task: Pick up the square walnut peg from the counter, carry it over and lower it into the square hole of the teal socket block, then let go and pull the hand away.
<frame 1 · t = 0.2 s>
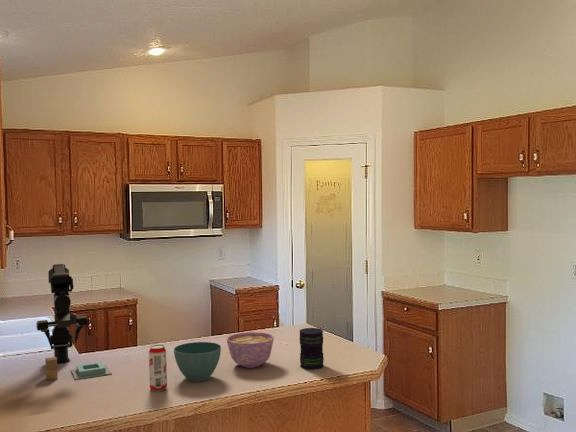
hand: (63, 344, 229), 14 cm above the table, tool pointing down, fingers open, 9 cm apart
storage jar: (311, 366, 239), on the table
walnut peg: (51, 378, 230), on the table
bowl of food: (250, 365, 243), on the table
teal bowl: (198, 378, 226), on the table
socket block: (91, 372, 237), on the table
beer can: (158, 389, 214), on the table
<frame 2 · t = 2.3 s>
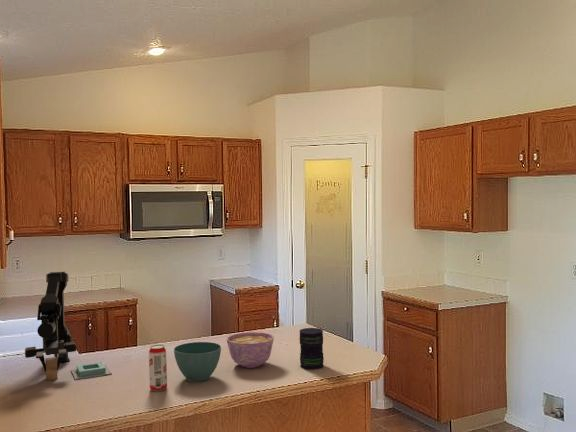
hand: (51, 371, 230), 3 cm above the table, tool pointing down, fingers closed on walnut peg, 4 cm apart
walnut peg: (51, 378, 230), on the table, touching gripper
everything else where it was.
when the fingers open (4 cm above the table, at t = 7.4 s): walnut peg stays where it is, resting on socket block.
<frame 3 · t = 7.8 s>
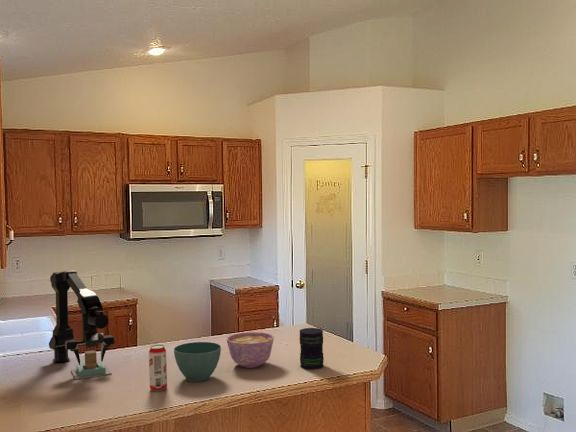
hand: (90, 363, 237), 4 cm above the table, tool pointing down, fingers open, 8 cm apart
walnut peg: (91, 371, 237), resting on socket block
everything else where it was.
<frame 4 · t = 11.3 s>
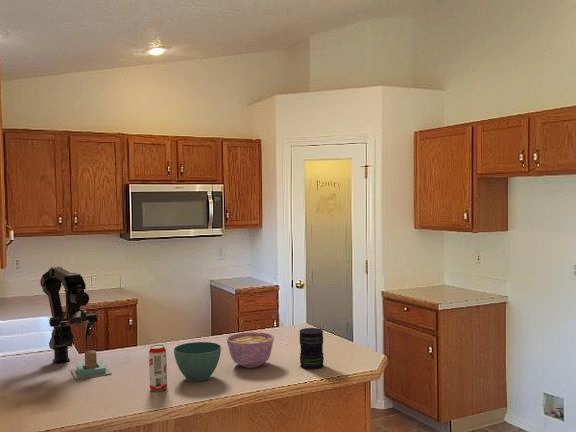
hand: (74, 340, 243), 12 cm above the table, tool pointing down, fingers open, 9 cm apart
nothing on the table moved.
at the end: walnut peg 0.0 cm off-centre on the socket block, point 0.5 cm above the socket block's base; walnut peg tilted 0°; the gripper is holding nothing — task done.
